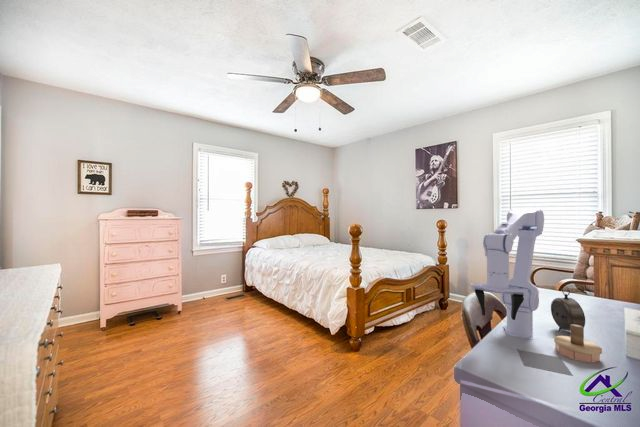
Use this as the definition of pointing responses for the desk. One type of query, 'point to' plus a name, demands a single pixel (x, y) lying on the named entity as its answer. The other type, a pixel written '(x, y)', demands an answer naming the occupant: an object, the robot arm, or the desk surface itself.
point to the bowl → (577, 355)
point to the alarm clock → (567, 312)
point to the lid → (577, 342)
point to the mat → (544, 362)
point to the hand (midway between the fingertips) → (498, 316)
